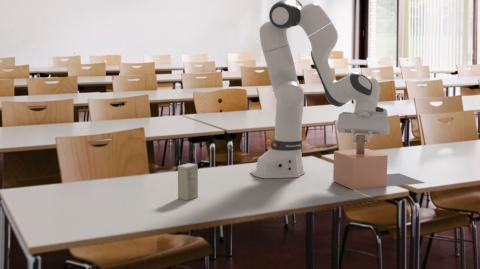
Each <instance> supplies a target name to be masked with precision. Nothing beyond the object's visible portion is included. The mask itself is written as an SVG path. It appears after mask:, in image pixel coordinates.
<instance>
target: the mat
mask: <svg viewBox="0 0 480 269" xmlns="http://www.w3.org/2000/svg"><path fill="white" fill-rule="evenodd" d="M419 184H425V182H424V181H422V180H419V179H415V178H414V177H410V176H408V175H405V174H402V173H400V172H399V173H398V172H397V173H387V186H385V187H387V188H388V187H395V186H396V187H397V186H405V185H406V186H407V185H419Z"/></svg>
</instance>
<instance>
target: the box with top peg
mask: <svg viewBox="0 0 480 269" xmlns="http://www.w3.org/2000/svg"><path fill="white" fill-rule="evenodd" d="M356 136H357V142H355V143H356V145H355V147H356V148H354V149H344V150H341V149H340V150H334V151H333V178H332V179H333V180H332V181H333V182H334V183H338V184H339V185H341V186H343V187H346V188H348V189H351V190H352V191H353V190H361V189H362V190H363V189H372V188H380V187H381V188H383V187H386V186H387V174H388V156H389V155H388V154H385V153H382V152H379V151H376V150H372V149H369V148H365V147H366V143H365V137H366V134H357V135H356Z"/></svg>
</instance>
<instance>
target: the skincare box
mask: <svg viewBox="0 0 480 269" xmlns="http://www.w3.org/2000/svg"><path fill="white" fill-rule="evenodd" d="M198 166H199V164H195V163H191V162H189V163H185V164H184V163H183V164H181V165H178V166H177V198H178V199H180V200H184V201H188V200H192V199H195V198H198V197H199V189H198V188H199V186H198V182H199V180H198V172H199V171H198V170H199V169H198Z"/></svg>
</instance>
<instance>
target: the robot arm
mask: <svg viewBox="0 0 480 269" xmlns="http://www.w3.org/2000/svg"><path fill="white" fill-rule="evenodd" d="M268 13H269V15H268V17H269V21H266V22H265V23H263V24H262V25H261V26H260V28H259V39H260V40H259V41H260V45H261V50H262V52H263V56H264V60H265V63H266V67H267V70H268V75H269V78H270V83H271V86H272V89H273V91H272V92H273V93H274V97H275V100H276V105H275V106H276V108H275V119H274V139H273V140H270V139H267V141H266V144H267V146H270V149H268V150H266V152H264V153H263V154H261V156H259V157H258V159H257V162H256V165H255V167H256V168H253V169H251V170H250V173H251V175H253V176H254V177H257V178H261V179H280V178H282V179H285V178H287V179H288V178H299V177H300V176H303V175H304V174H305V170H304V165H303V159H302V157H303V154H302V152H303V139H302V128H303V127H302V122H303V112H304V103H305V102H304V101H305V93H304V92H305V90H304V88H303V87H302V86H301V85H300V82H299V80H298V76H297V71H296V66H295V61H294V58H293V55H292V54H293V53H292V51H291V47H290V43H289V39H288V36H287V31H288V29H290V28H293V27H298V26H299V27H301V29H303V31H304V33H305V35H306V36H307V38H308V40H309V42H310V46H311V51H310V57H311V59H312V62H313V65H314V67H315V70H316V72H317V75H318V78H319V79H320V83H321V85H322V86H323V91H324V94H325V98H326V100H327V102H328V103H329V104H331V105H332V106H334V107H338V108H340V107H342V106H344V105H345V104H347V103H348V102H351V101H352V100H354V101H355V102H356V103H355V106H354V111H352V112H351V111H350V112H349V111H343V112H341V113H339V114H338V118H337V125H336V130H337V132H338V133H341V134H351V135H350V136H351V137H352V142H354V143H356V142H357V135H367V136H365V144H369V142H370V139H372V137H373V136H374V135H376V136H387V135H389V133H390V123H389V115H388V110H387V108H384V107H381V106H378V103H379V100H380V95H381V94H380V93H381V92H380V91H381V89H380V88H381V86H380V83H379V81H378V80H377V79H376V78H375V77H371V76H366V75H364V74H362V73H361V72H358V71H354V72H351V73H348V75H344V77H342V78H340V79H338V80H337V79H336V78H335V76H334V73H333V70H332V69H331V67H330V64H329V56H330V54H331V53H332V51H333V50H334V48H335V47H336V44H337V42H338V39H339V38H338V37H339V35H338V31H337V29H336V27H335V24H334V23H333V22H332V20H331V18H330V17H329V15H328V14H327V13H326V11H325V10H324V9H323V8H322V6H320V4H318V3H316V2H312V3H311V2H310V3H307V4H306V5H305V4H304V5H302V3H301V2H300V1H299V0H279V1H277V2H276V3H273V5H272V6H271V7H270V9H269V12H268ZM356 134H357V135H356Z"/></svg>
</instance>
